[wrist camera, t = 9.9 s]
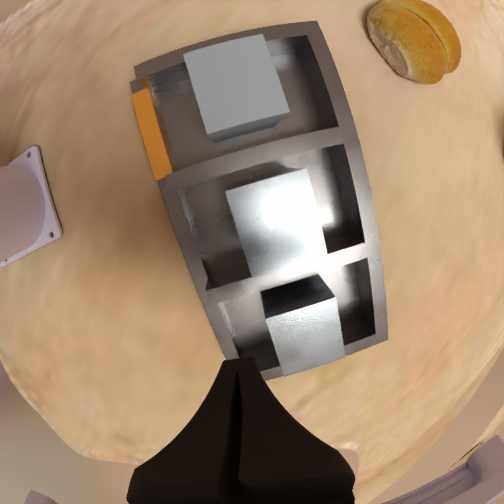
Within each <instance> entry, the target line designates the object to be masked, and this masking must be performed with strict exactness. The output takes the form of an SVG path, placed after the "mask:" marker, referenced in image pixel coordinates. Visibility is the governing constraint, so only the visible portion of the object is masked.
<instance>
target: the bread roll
mask: <svg viewBox="0 0 504 504" xmlns="http://www.w3.org/2000/svg"><path fill="white" fill-rule="evenodd" d="M367 27H368V32H369V35H370V39H371V40H372V42H373V43H374V44H375V46H376V47H377V49H378V50H379V52H380V54H381V55H382V56H383V58H384V59H385V60H386V61H387V62H388V63H389V65H390V66H391V67H392V68H393V69H394V70H395V71H396V72H397V73H398V74H399V75H401V76H403V77H405V78H408V79H411V80H414V81H416V82H419V83H422V84H435V83H437V82H439V81H440V80H441V79H442V77H443V75H444V74H447V73H451V72H453V71H454V70H455V69H456V68H457V67H458V65H459V62H460V58H461V45H460V41H459V38H458V35H457V33H456V31H455V29H454V27H453V26H452V24H451V23H450V22H449V20H448V19H447V18H446V17H445V16H444V15H443V14H442V13H441V12H440V11H439V10H438V9H436V8H435V7H433V6H432V5H430V4H428V3H426V2H424V1H421V0H382V1H381V2H379V3H377V4H376V5H375V6H373V7H372V9H371V10H370V12H369V14H368V18H367Z"/></svg>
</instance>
